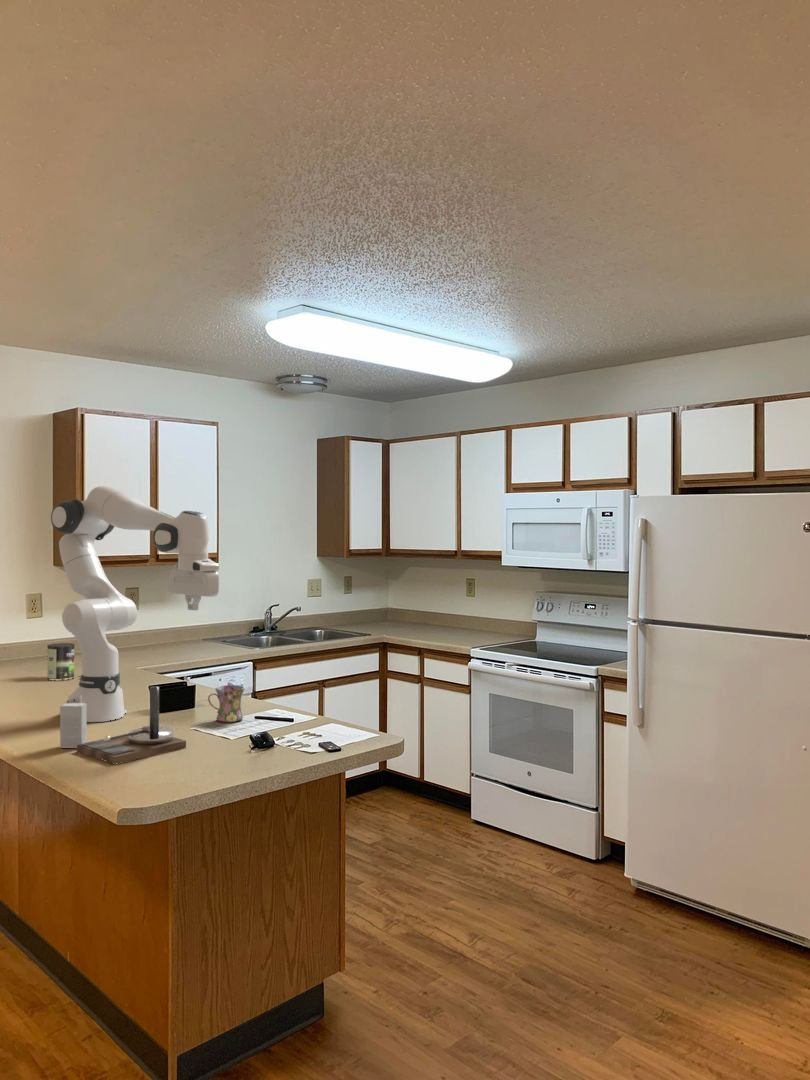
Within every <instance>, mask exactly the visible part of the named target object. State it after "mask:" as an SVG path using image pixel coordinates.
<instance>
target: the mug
mask: <svg viewBox="0 0 810 1080" xmlns="http://www.w3.org/2000/svg"><path fill="white" fill-rule="evenodd" d="M245 688H246V687H245V686H244V685H239V684H238V685H237V684H226V685H224V684H223V685H218V686H217V687H215V692H216V693H210V694H209V695H208V696H207V701H208V704H209V705H210V706H211V707H212V708H213V709H215V710H217V711H216V713H217V716H216V720H217V721H219V722H221V723H222V722H223V723H235V722H238V721H239V722H240V721H241V720H243V718H244V715H243V713H242V708H241V707H242V706H241V705H242V704H241V703H242V696H243V693H244V691H245ZM211 696H216V697H217V699H218V702H219V705H218V707H216V706H214V705H213V704H212V702H211V700H210V699H211Z"/></svg>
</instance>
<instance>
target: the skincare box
mask: <svg viewBox="0 0 810 1080" xmlns="http://www.w3.org/2000/svg"><path fill="white" fill-rule="evenodd" d="M59 713H60V715H59V719H60V720H59V721H60V722H59V723H60V724H59V725H60V726H59V727H60V729H59V730H60V733H59V734H60V737H59V738H60V740H59V742H60V743H59V744H60V745H59V746H60V747H59V748H60V749H61V748H77V744H82V743H87V742H88V741H87V740H88V739H87V737H88V735H87V734H88V733H87V731H88V730H87V723H88V722H87V712H86V703H67V702H66V703H64V704H62V705H60V707H59Z"/></svg>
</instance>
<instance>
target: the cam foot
mask: <svg viewBox="0 0 810 1080" xmlns="http://www.w3.org/2000/svg"><path fill="white" fill-rule="evenodd" d="M126 736H129V742H131V743H134V744H158V743H164V742H167V741H170V740H172V739H173V737H174V729H173V728H171V727H168V726H167V727H165V726H160V686H157V685H155V686H150V687H149V725H148V726H147V725H145V726H141V727H139V728H136V729H132V730H130V731H129V732H128V733H124V734H120V735H115V736H110V735H105V736H104V738H103V739H104V742H106V743H108V742H110V741H111V740H113V739H117V738H121V737H126Z"/></svg>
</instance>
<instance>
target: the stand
mask: <svg viewBox="0 0 810 1080" xmlns="http://www.w3.org/2000/svg"><path fill="white" fill-rule="evenodd" d="M181 748H183V749H186V748H187V740H185V739H181V738H179V737H178V738H177V737H174V736H173V739H172V740H170V741H167V742H164V743H158V744H134V743H131V742H129V736H126V737H121V738H117V739H113V740H111V741H110V742H108V743H106V742H104V738H102V739H98V740H93V741H87V743H82V744H77V749H76V752H77V753H79V752H80V753H79V754H82V753H84V754H83V755H85V754H87V755H86V756H88V755H90V756H89V757H91V756H93V757H92V758H94V757H96V758H95V759H97V758H99V759H98V760H100V759H103V760H106V761H108V762H112V763H114V764H116V763H120V764H122V763H121V762H124V763H127V762H126V761H129V762H132V761H131V760H133V761H135V760H136V759H137V760H141V759H144V758H149V757H153V755H154V756H156V755H157V754H158V755H162V754H166V753H169V751H170V752H174V751H178V750H177V749H179V750H182V749H181ZM173 750H174V751H173ZM165 752H166V753H165ZM161 753H162V754H161ZM158 755H157V756H158ZM148 756H149V757H148ZM140 758H141V759H140ZM137 760H136V761H137ZM108 762H107V763H108ZM114 764H113V765H114ZM116 765H117V764H116Z"/></svg>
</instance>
